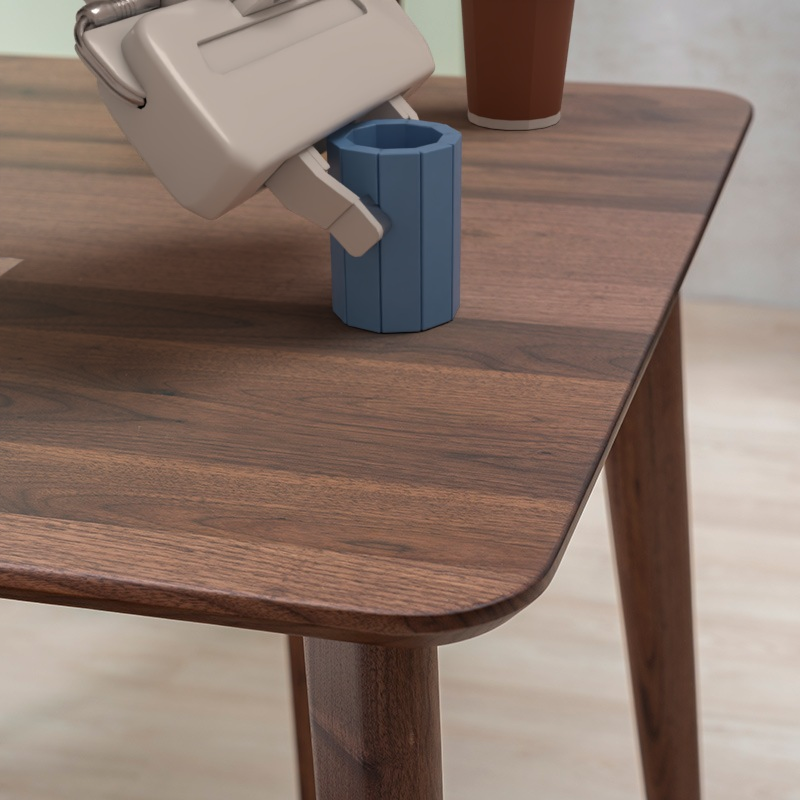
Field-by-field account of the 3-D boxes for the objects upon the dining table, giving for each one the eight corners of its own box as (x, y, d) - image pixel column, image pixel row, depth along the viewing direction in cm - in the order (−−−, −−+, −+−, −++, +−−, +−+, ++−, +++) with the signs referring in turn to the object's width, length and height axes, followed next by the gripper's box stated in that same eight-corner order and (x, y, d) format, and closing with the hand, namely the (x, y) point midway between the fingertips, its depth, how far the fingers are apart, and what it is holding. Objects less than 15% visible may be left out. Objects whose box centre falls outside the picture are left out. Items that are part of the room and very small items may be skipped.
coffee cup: (577, 137, 83) (588, -54, 78) (440, 133, 84) (441, -56, 79) (581, 104, 91) (591, -72, 86) (456, 100, 92) (458, -73, 87)
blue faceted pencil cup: (319, 328, 56) (311, 150, 52) (353, 280, 61) (349, 115, 57) (443, 338, 54) (444, 157, 51) (468, 289, 59) (470, 121, 56)
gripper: (94, -47, 44) (357, 252, 45) (339, -102, 61) (526, 117, 62) (8, 73, 47) (254, 347, 49) (263, -11, 64) (441, 194, 65)
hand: (408, 217), depth 55 cm, fingers closed on blue faceted pencil cup, 6 cm apart
